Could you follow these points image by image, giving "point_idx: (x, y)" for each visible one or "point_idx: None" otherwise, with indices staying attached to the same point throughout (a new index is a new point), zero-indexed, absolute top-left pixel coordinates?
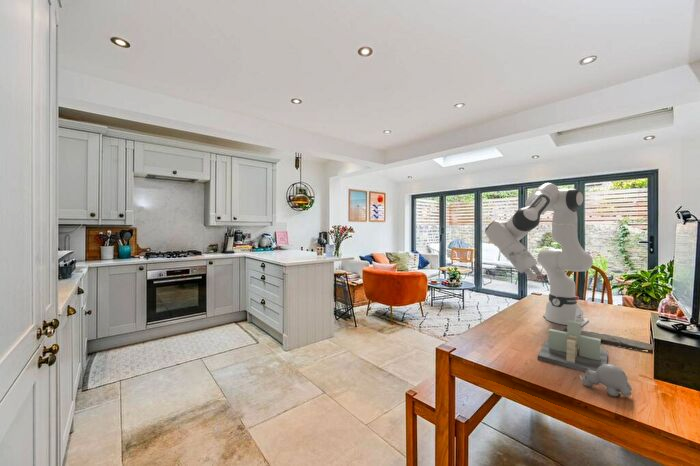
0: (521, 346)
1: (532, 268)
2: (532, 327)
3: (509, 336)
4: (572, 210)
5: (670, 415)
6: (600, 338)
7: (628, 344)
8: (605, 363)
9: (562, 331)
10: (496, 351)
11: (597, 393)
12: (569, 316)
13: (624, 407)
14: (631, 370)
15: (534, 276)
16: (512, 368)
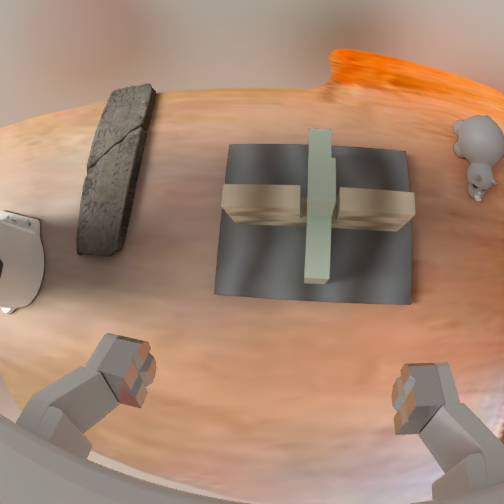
0: (330, 362)
1: (81, 451)
2: None
3: (253, 408)
4: None
5: (468, 95)
6: (130, 165)
7: (143, 115)
8: (338, 148)
9: (310, 233)
10: None
11: None
12: (22, 243)
13: None
14: (310, 110)
15: (448, 390)
16: (496, 342)
